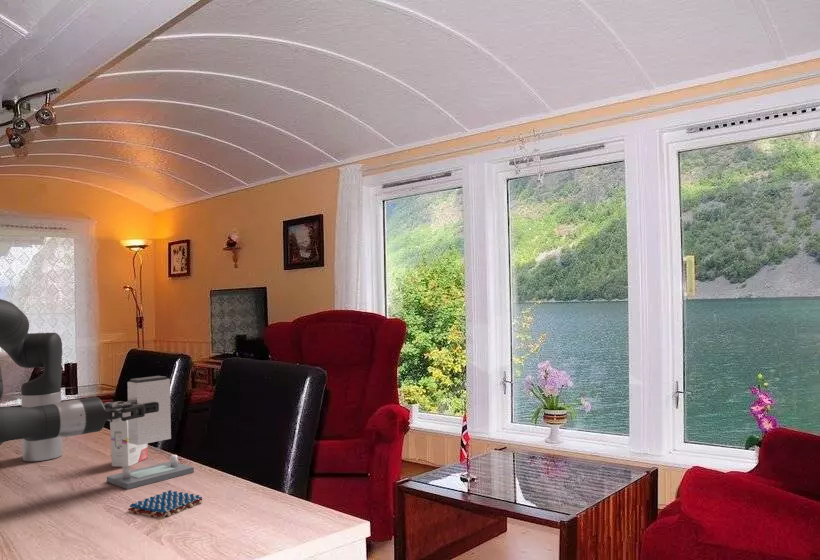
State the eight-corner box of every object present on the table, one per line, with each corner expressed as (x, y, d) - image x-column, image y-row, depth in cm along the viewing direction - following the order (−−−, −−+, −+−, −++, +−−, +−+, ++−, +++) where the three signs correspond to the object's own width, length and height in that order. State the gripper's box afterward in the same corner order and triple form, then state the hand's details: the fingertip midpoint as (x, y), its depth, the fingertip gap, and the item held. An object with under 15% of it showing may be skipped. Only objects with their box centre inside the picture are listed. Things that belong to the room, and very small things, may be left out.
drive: (128, 442, 148) (127, 379, 149) (161, 436, 154) (160, 375, 155) (138, 445, 145) (136, 380, 146) (171, 438, 151) (169, 376, 152)
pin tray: (127, 489, 140) (127, 472, 141) (106, 481, 147) (106, 465, 147) (193, 472, 153) (193, 456, 153) (171, 465, 159) (171, 450, 159)
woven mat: (125, 514, 125) (124, 504, 126) (168, 498, 135) (168, 489, 135) (162, 522, 121) (162, 511, 121) (205, 505, 130) (204, 495, 130)
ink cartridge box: (131, 457, 169) (130, 401, 169) (148, 458, 168) (147, 401, 168) (110, 466, 160) (108, 407, 161) (127, 467, 159) (126, 407, 160)
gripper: (90, 402, 133) (168, 391, 146) (62, 397, 142) (137, 387, 155) (91, 439, 133) (168, 424, 146) (63, 431, 142) (138, 418, 155)
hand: (152, 405), depth 151 cm, fingers closed on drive, 4 cm apart
